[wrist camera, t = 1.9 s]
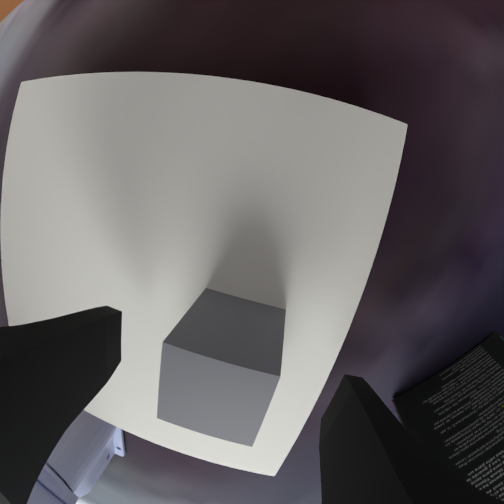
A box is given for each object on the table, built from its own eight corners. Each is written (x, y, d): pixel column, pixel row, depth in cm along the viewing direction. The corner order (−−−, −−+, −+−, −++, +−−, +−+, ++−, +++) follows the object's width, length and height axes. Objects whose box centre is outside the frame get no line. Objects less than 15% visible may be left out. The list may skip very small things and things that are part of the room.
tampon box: (388, 396, 17) (438, 587, 3) (495, 325, 15) (615, 457, 1) (422, 460, 18) (453, 586, 4) (505, 407, 16) (567, 514, 2)
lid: (275, 466, 14) (266, 532, 9) (25, 363, 15) (-17, 396, 11) (400, 128, 9) (466, 98, 5) (31, 84, 11) (-34, 71, 6)
